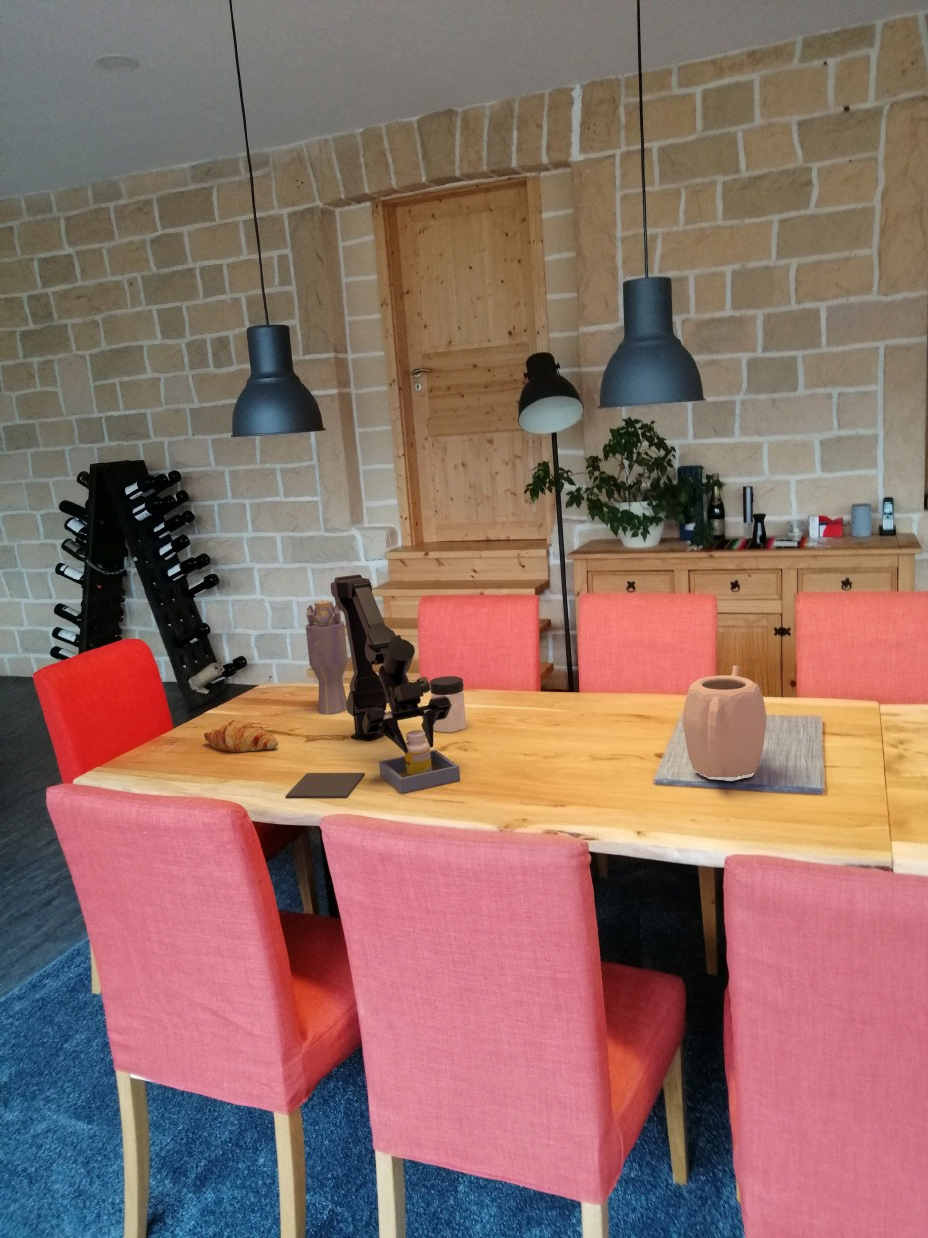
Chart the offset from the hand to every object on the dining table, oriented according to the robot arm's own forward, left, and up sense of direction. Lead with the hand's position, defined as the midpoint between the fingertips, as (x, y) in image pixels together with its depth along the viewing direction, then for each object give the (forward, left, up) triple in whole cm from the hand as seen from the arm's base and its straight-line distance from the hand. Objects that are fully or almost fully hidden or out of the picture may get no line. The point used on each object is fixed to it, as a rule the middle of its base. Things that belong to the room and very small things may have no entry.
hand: (419, 749), depth 193 cm
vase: (-57, +30, -7) cm, 65 cm away
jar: (-17, +31, -7) cm, 36 cm away
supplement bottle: (-1, +1, -7) cm, 7 cm away
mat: (-16, -12, -7) cm, 21 cm away
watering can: (+53, +33, -7) cm, 62 cm away
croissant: (-54, -4, -7) cm, 55 cm away
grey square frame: (-1, +1, -7) cm, 7 cm away
